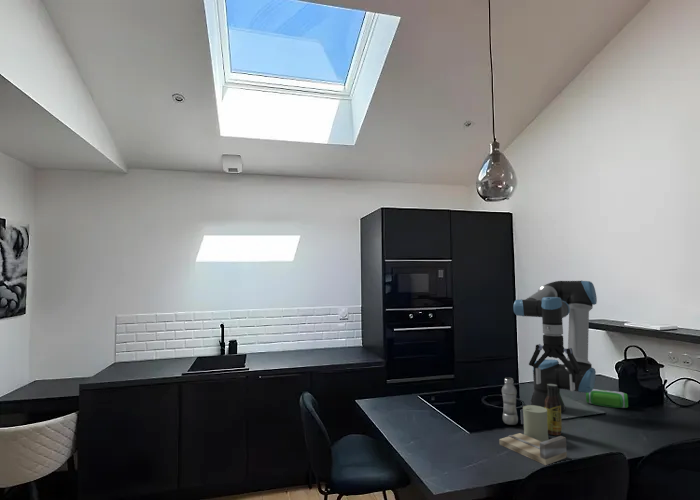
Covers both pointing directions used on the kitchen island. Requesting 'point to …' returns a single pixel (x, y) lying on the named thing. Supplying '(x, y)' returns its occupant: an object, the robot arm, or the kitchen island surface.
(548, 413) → the sauce bottle
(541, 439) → the can
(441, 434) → the kitchen island surface
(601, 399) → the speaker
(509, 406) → the plastic bottle
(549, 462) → the rail board
